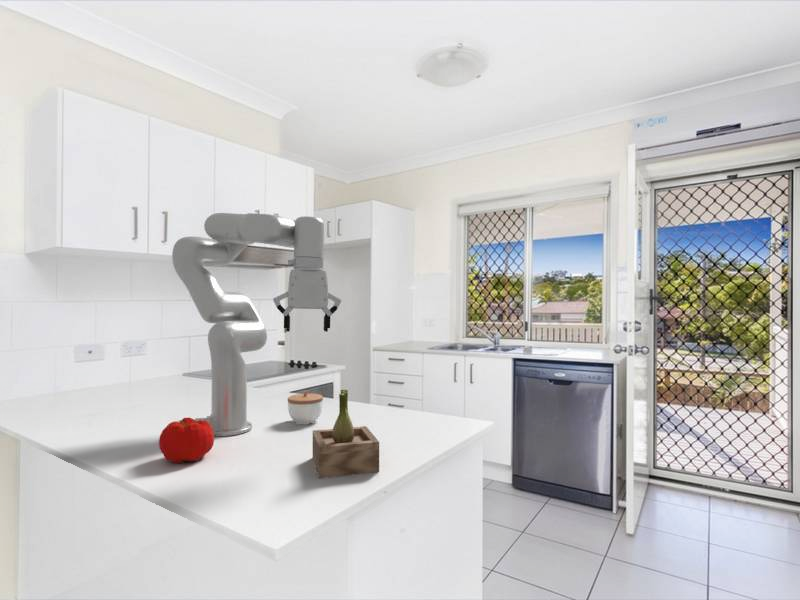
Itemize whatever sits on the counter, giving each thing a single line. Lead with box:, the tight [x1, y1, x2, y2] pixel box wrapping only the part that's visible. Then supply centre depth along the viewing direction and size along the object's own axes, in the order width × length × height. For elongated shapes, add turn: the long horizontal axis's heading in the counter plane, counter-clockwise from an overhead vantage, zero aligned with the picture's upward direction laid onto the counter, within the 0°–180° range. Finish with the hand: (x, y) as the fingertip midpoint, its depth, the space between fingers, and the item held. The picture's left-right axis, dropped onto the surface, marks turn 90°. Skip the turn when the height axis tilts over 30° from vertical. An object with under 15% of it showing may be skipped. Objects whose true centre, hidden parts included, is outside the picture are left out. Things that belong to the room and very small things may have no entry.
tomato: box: [158, 416, 215, 464], centre depth 106 cm, size 11×12×9 cm
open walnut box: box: [312, 425, 380, 479], centre depth 102 cm, size 13×13×6 cm
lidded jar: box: [287, 390, 324, 425], centre depth 139 cm, size 11×11×9 cm
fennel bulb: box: [332, 389, 354, 443], centre depth 102 cm, size 6×5×12 cm
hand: (307, 331), depth 116 cm, fingers open, 9 cm apart
